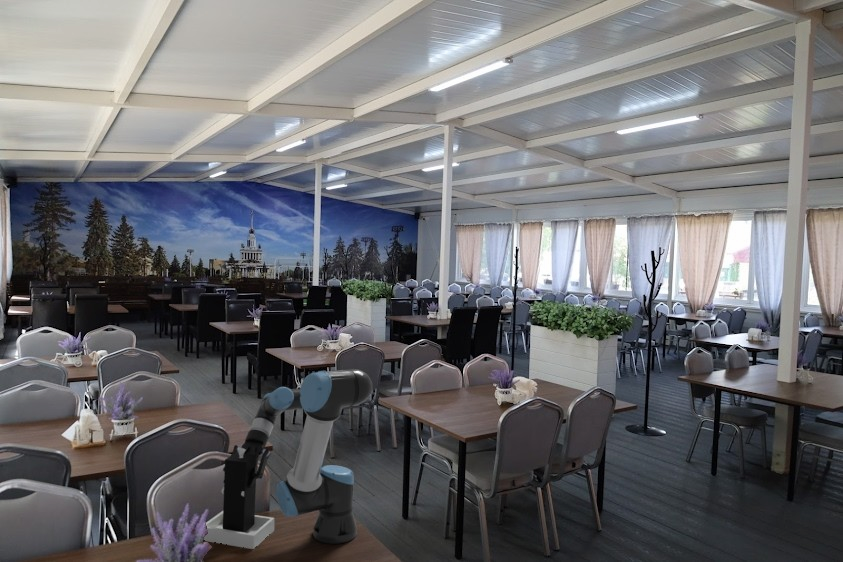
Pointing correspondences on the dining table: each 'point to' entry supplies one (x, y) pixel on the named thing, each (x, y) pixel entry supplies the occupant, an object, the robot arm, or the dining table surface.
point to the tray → (239, 539)
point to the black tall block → (239, 492)
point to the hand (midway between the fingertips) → (233, 494)
